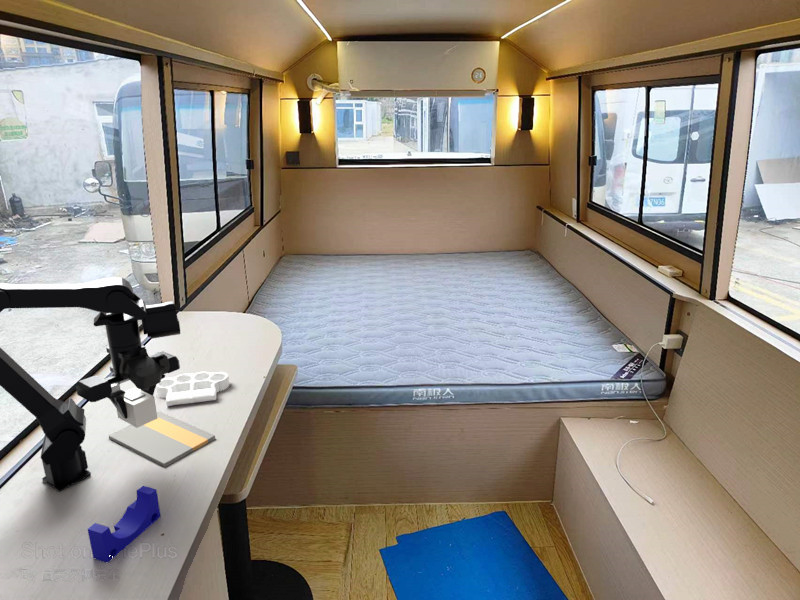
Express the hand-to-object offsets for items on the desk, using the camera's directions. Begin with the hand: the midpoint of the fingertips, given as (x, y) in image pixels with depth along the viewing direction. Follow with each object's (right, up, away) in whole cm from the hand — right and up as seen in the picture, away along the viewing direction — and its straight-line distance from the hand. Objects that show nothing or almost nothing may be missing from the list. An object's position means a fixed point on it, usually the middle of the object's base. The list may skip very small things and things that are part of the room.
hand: (136, 413), depth 117 cm
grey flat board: (0, -8, +11) cm, 14 cm away
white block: (0, -1, 0) cm, 1 cm away
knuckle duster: (0, -2, +33) cm, 33 cm away
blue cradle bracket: (+6, -18, -18) cm, 26 cm away
